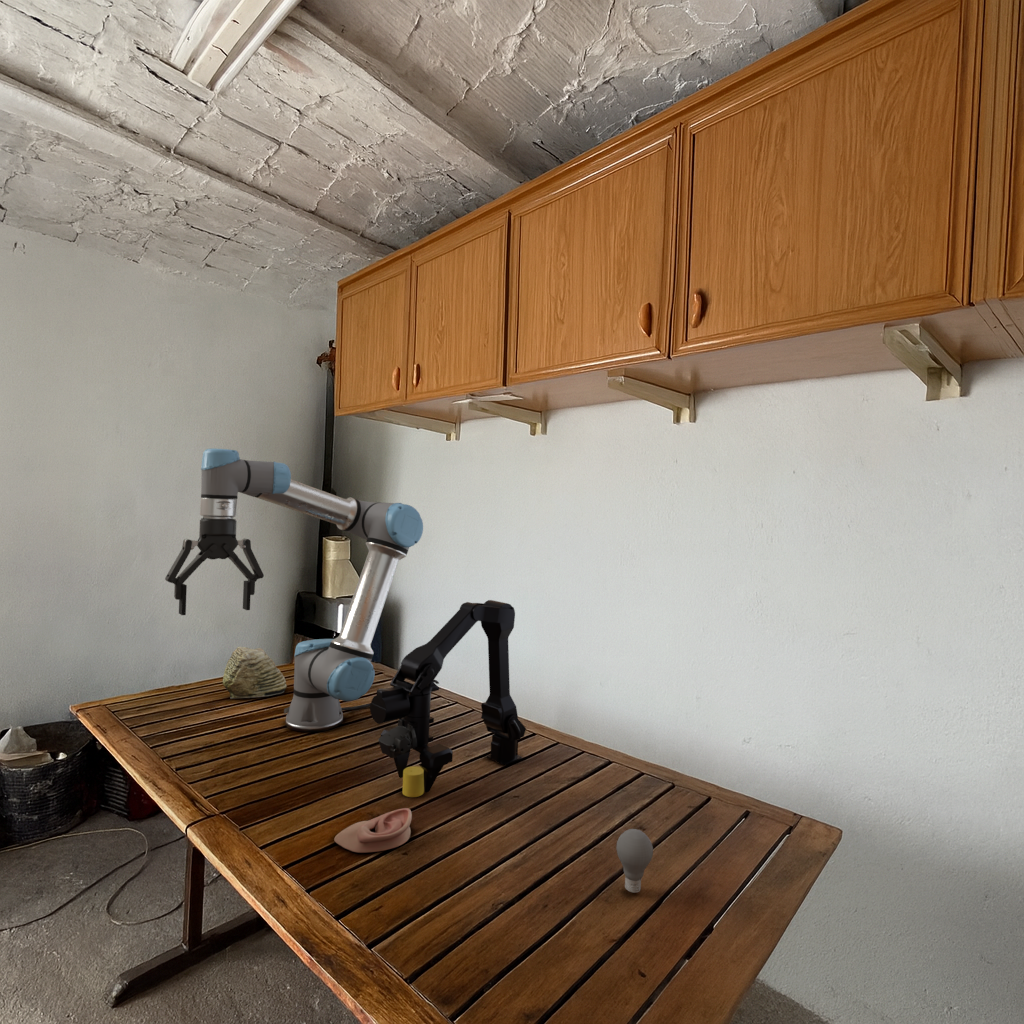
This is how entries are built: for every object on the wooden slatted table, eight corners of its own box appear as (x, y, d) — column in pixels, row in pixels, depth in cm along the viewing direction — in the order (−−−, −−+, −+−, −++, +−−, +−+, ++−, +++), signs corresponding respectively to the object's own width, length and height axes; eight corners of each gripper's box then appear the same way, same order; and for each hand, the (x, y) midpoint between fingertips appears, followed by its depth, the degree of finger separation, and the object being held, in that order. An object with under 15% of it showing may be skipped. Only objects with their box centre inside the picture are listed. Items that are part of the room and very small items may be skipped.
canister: (399, 790, 138) (399, 768, 138) (418, 785, 141) (419, 764, 141) (407, 799, 134) (408, 776, 134) (427, 794, 137) (428, 772, 137)
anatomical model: (326, 826, 114) (355, 797, 125) (325, 847, 114) (354, 817, 126) (396, 837, 112) (418, 806, 123) (395, 859, 112) (417, 827, 123)
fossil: (218, 695, 195) (220, 647, 195) (278, 685, 208) (279, 640, 207) (228, 703, 189) (230, 653, 188) (289, 692, 201) (290, 645, 201)
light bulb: (610, 879, 108) (613, 822, 108) (644, 879, 109) (647, 822, 109) (619, 902, 102) (622, 840, 102) (655, 901, 103) (658, 840, 103)
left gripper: (160, 517, 131) (156, 619, 132) (280, 519, 148) (276, 609, 148) (152, 515, 137) (149, 613, 137) (268, 517, 153) (265, 604, 154)
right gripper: (361, 709, 138) (358, 780, 138) (412, 734, 125) (409, 812, 125) (403, 699, 146) (400, 766, 146) (455, 722, 133) (452, 795, 133)
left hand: (215, 611), depth 143 cm, fingers open, 13 cm apart
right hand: (413, 784), depth 138 cm, fingers open, 9 cm apart
